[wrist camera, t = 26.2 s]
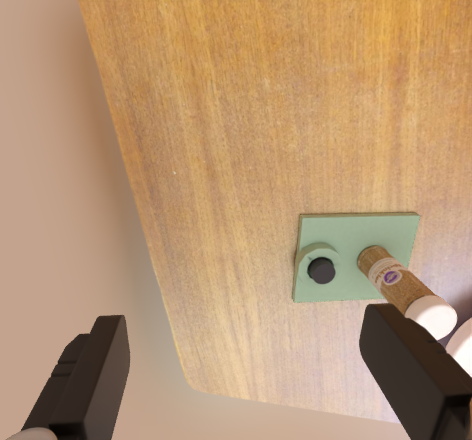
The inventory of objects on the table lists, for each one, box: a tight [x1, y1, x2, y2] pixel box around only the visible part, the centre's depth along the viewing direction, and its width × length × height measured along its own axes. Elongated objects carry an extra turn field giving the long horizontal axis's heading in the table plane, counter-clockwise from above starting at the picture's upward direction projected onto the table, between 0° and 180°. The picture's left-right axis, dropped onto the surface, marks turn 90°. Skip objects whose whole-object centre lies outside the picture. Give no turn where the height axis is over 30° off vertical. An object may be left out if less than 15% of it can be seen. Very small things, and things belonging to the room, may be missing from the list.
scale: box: [292, 212, 420, 303], centre depth 44 cm, size 16×13×3 cm
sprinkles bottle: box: [357, 246, 457, 340], centre depth 38 cm, size 5×5×13 cm
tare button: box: [309, 258, 336, 284], centre depth 42 cm, size 3×3×2 cm
